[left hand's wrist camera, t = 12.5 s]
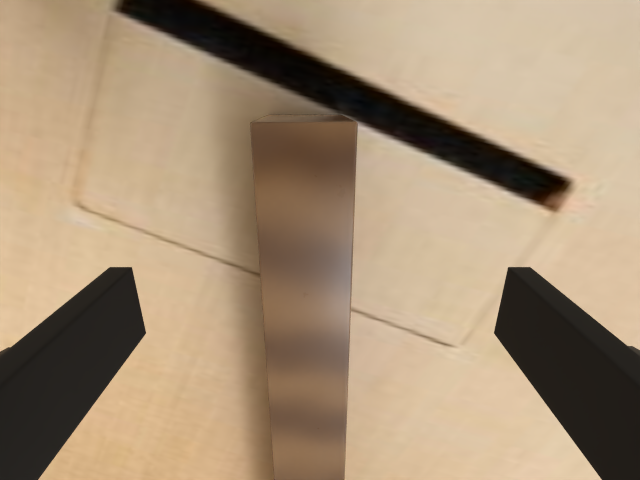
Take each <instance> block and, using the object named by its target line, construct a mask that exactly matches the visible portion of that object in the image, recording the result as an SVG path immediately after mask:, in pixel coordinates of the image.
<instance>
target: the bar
mask: <svg viewBox="0 0 640 480" xmlns="http://www.w3.org/2000/svg"><path fill="white" fill-rule="evenodd" d="M357 125H358V124H357V122H355V121H353V120H351V119H349V118H347V117H345V116H343V115H267V116H265V117H263V118H260V119H258V120H255V121H253V122H251V123H250V130H251V144H252V159H253V174H254V188H255V203H256V218H257V233H258V247H259V262H260V277H261V291H262V306H263V321H264V335H265V350H266V365H267V379H268V394H269V409H270V424H271V438H272V453H273V468H274V480H344V478H345V451H346V424H347V397H348V369H349V342H350V315H351V288H352V261H353V233H354V206H355V179H356V152H357Z"/></svg>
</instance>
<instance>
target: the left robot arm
mask: <svg viewBox="0 0 640 480" xmlns="http://www.w3.org/2000/svg"><path fill="white" fill-rule="evenodd" d="M145 334H146V331H145V326H144V322H143V317H142V312H141V308H140V303H139V299H138V294H137V289H136V285H135V280H134V275H133V271H132V267H110V268H108V269H107V270H106V271H105V272H103V273H102V274H101V275H100V276H98V277H97V278H96V279H95V280H94V281H92V282H91V283H90V284H89V285H87V286H86V287H85V288H84V289H82V290H81V291H80V292H79V293H77V294H76V295H75V296H74V297H73V298H71V299H70V300H69V301H68V302H66V303H65V304H64V305H63V306H61V307H60V308H59V309H58V310H56V311H55V312H54V313H53V314H52V315H50V316H49V317H48V318H47V319H45V320H44V321H43V322H42V323H40V324H39V325H38V326H37V327H35V328H34V329H33V330H32V331H31V332H29V333H28V334H27V335H26V336H24V337H23V338H22V339H21V340H19V341H18V342H17V343H16V344H15V345H13V346H12V347H8V348H6V349H5V350H3V351H1V352H0V480H38V479H39V478H40V476H41V475H42V474H43V472H44V471H45V470H46V468H47V467H48V465H49V464H50V463H51V461H52V460H53V459H54V457H55V456H56V455H57V453H58V452H59V451H60V449H61V448H62V446H63V445H64V444H65V442H66V441H67V440H68V438H69V437H70V436H71V434H72V433H73V432H74V430H75V429H76V427H77V426H78V425H79V423H80V422H81V421H82V419H83V418H84V417H85V415H86V414H87V413H88V411H89V410H90V408H91V407H92V406H93V404H94V403H95V402H96V400H97V399H98V398H99V396H100V395H101V394H102V392H103V391H104V389H105V388H106V387H107V385H108V384H109V383H110V381H111V380H112V379H113V377H114V376H115V375H116V373H117V372H118V370H119V369H120V368H121V366H122V365H123V364H124V362H125V361H126V360H127V358H128V357H129V356H130V354H131V353H132V351H133V350H134V349H135V347H136V346H137V345H138V343H139V342H140V341H141V339H142V338H143V337H144V335H145ZM494 334H495V335H496V337H497V338H498V339H499V341H500V342H501V343H502V345H503V346H504V347H505V349H506V350H507V351H508V353H509V354H510V356H511V357H512V358H513V360H514V361H515V362H516V364H517V365H518V366H519V368H520V369H521V370H522V372H523V373H524V375H525V376H526V377H527V379H528V380H529V381H530V383H531V384H532V385H533V387H534V388H535V389H536V391H537V392H538V394H539V395H540V396H541V398H542V399H543V400H544V402H545V403H546V404H547V406H548V407H549V408H550V410H551V411H552V413H553V414H554V415H555V417H556V418H557V419H558V421H559V422H560V423H561V425H562V426H563V427H564V429H565V430H566V432H567V433H568V434H569V436H570V437H571V438H572V440H573V441H574V442H575V444H576V445H577V446H578V448H579V449H580V451H581V452H582V453H583V455H584V456H585V457H586V459H587V460H588V461H589V463H590V464H591V465H592V467H593V468H594V470H595V471H596V472H597V474H598V475H599V476H600V478H601V479H602V480H640V350H638V349H636V348H635V347H633V346H627V345H625V344H624V343H623V342H622V341H621V340H619V339H618V338H617V337H616V336H614V335H613V334H612V333H611V332H609V331H608V330H607V329H606V328H605V327H603V326H602V325H601V324H600V323H598V322H597V321H596V320H595V319H593V318H592V317H591V316H590V315H588V314H587V313H586V312H585V311H584V310H582V309H581V308H580V307H579V306H577V305H576V304H575V303H574V302H572V301H571V300H570V299H569V298H567V297H566V296H565V295H564V294H563V293H561V292H560V291H559V290H558V289H556V288H555V287H554V286H553V285H551V284H550V283H549V282H548V281H546V280H545V279H544V278H543V277H542V276H540V275H539V274H538V273H537V272H535V271H534V270H533V269H532V268H530V267H508V271H507V275H506V280H505V285H504V289H503V294H502V299H501V303H500V308H499V312H498V317H497V322H496V326H495V331H494Z"/></svg>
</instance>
